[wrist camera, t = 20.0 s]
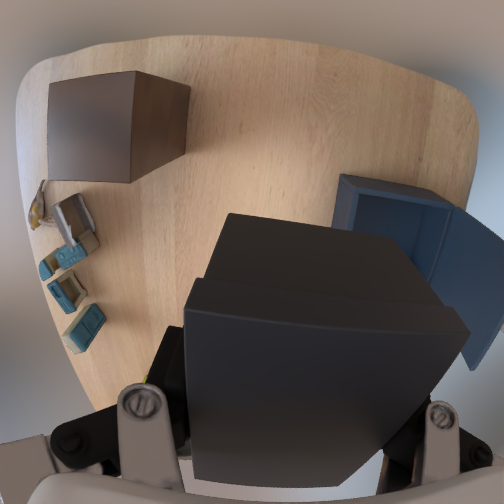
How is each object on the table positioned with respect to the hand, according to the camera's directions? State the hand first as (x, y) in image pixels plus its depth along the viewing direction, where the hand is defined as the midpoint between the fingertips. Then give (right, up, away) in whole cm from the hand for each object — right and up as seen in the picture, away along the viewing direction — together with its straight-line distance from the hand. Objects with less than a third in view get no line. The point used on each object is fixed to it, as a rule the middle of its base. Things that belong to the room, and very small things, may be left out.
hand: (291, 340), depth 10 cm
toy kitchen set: (-32, -2, +40) cm, 51 cm away
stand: (-15, +22, +27) cm, 38 cm away
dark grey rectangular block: (0, 0, +1) cm, 1 cm away
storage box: (+18, +8, +32) cm, 38 cm away
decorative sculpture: (-36, +12, +34) cm, 51 cm away
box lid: (+24, 0, +18) cm, 30 cm away
